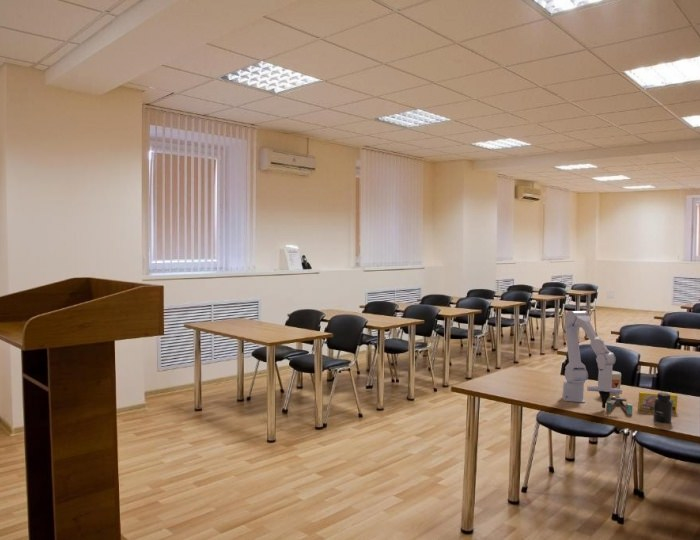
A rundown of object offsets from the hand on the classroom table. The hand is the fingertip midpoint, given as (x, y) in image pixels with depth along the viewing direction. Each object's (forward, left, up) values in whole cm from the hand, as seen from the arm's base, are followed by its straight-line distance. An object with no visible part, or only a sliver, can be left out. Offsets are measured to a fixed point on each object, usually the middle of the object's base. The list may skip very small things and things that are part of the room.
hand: (603, 407), depth 250 cm
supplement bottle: (+22, -8, -2) cm, 24 cm away
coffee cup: (+8, +30, -1) cm, 31 cm away
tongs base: (+8, +6, -1) cm, 10 cm away
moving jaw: (+4, +4, -1) cm, 5 cm away
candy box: (+24, +9, -2) cm, 26 cm away
